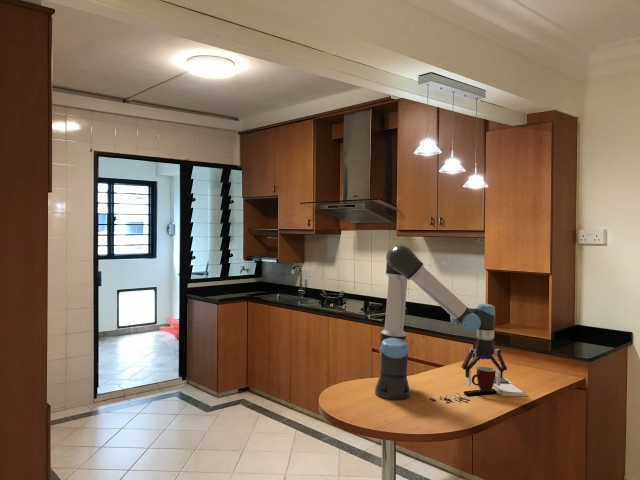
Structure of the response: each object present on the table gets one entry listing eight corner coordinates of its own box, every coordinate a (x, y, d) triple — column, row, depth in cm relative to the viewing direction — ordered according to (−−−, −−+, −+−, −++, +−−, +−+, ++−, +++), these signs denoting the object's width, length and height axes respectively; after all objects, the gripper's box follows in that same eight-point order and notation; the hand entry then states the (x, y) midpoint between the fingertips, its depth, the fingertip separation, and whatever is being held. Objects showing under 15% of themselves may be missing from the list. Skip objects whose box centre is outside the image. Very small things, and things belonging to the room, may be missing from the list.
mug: (477, 394, 228) (478, 372, 228) (467, 388, 236) (468, 367, 236) (498, 393, 231) (499, 371, 231) (488, 387, 239) (489, 366, 239)
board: (502, 395, 228) (502, 391, 228) (482, 379, 252) (482, 375, 252) (527, 396, 229) (527, 391, 229) (505, 380, 253) (505, 376, 252)
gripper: (461, 339, 229) (459, 387, 229) (515, 340, 230) (513, 387, 230) (455, 336, 236) (453, 381, 237) (508, 337, 237) (506, 382, 238)
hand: (483, 385), depth 234 cm, fingers open, 13 cm apart
